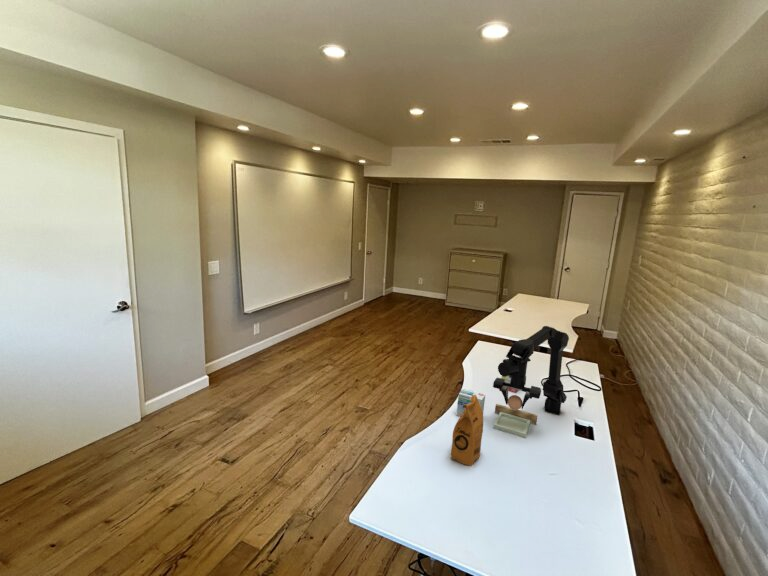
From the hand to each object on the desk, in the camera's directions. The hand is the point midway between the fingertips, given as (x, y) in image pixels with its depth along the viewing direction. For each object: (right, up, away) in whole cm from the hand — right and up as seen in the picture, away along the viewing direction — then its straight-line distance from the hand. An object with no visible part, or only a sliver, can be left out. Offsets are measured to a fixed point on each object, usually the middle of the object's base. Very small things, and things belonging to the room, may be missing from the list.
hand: (514, 406), depth 163 cm
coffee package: (-26, -12, -21) cm, 35 cm away
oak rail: (+3, -8, +9) cm, 12 cm away
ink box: (+12, -3, +40) cm, 42 cm away
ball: (0, -1, 0) cm, 1 cm away
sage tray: (-1, -9, +2) cm, 9 cm away
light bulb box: (-17, -7, +8) cm, 20 cm away
